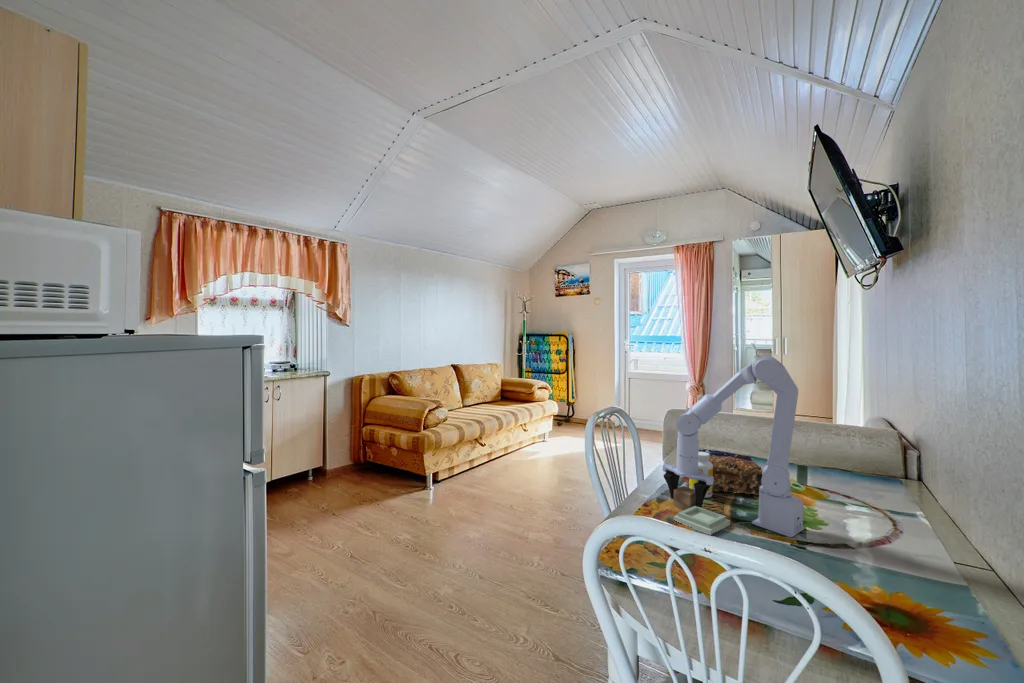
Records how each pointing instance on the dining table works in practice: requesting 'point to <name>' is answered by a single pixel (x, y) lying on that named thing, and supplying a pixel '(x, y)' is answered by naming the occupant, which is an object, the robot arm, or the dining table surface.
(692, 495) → the cube
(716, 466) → the bread
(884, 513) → the dining table surface
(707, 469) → the supplement bottle
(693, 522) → the plate
